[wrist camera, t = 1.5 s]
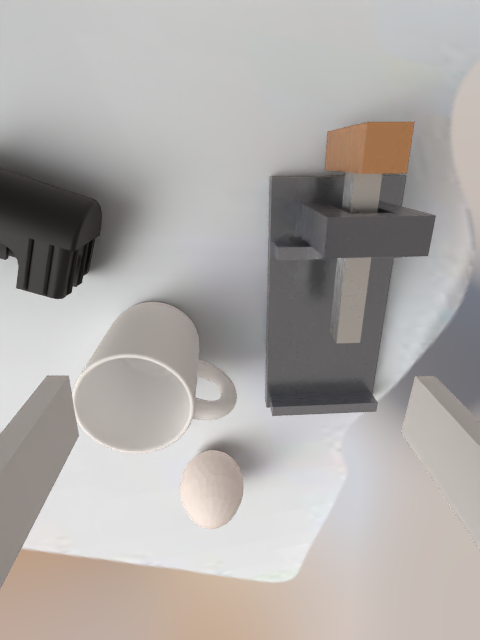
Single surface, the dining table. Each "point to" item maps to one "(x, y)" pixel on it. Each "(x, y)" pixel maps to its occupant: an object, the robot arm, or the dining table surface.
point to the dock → (329, 290)
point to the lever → (361, 206)
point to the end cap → (46, 234)
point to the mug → (147, 381)
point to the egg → (211, 489)
